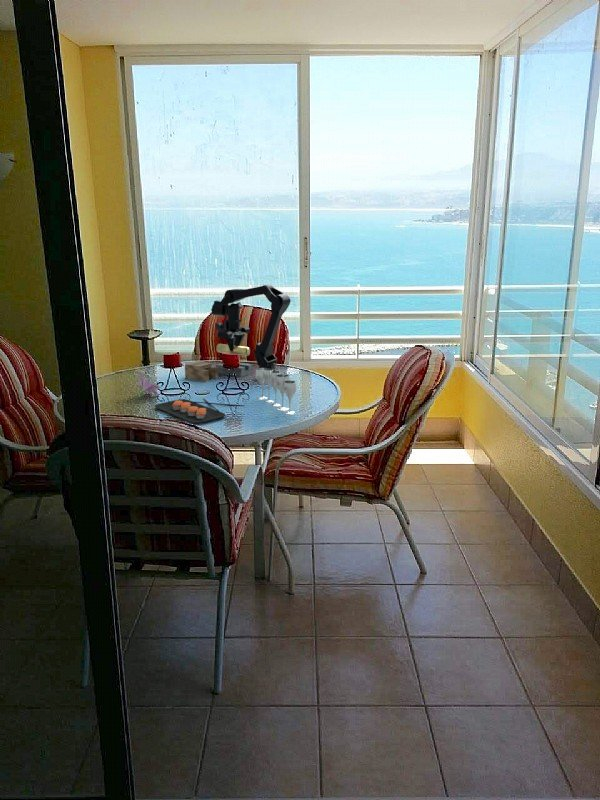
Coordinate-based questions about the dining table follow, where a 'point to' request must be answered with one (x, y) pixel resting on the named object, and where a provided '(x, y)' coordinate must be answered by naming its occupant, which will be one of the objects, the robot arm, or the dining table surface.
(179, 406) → the sushi plate
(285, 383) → the goblet set
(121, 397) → the dining table surface
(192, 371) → the wooden block
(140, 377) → the lily
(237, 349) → the axle
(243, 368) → the v block
